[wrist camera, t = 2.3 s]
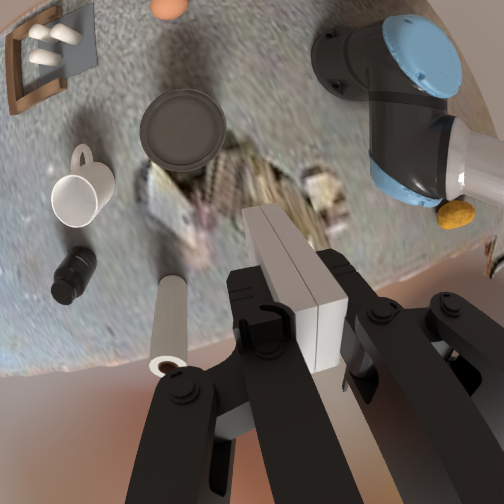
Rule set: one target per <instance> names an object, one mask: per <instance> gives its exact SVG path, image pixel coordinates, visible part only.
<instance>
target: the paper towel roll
mask: <svg viewBox="0 0 504 504" xmlns="http://www.w3.org/2000/svg"><path fill="white" fill-rule="evenodd" d="M183 366H188V349H187V284H186V282H185V281H184V280H183V279H182V278H181V277H179V276H176V275H169V276H166V277H164V278H163V279H162V280H161V281H160V283H159V287H158V293H157V300H156V307H155V314H154V322H153V330H152V338H151V348H150V358H149V367H150V370H151V371H152V372H153V373H154V374H156V375H157V376H159V377H161V378H162V377H163V376H164V375H165V374H166V373H167V372H169V371H171V370H173V369H175V368H178V367H183Z"/></svg>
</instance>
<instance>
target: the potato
mask: <svg viewBox="0 0 504 504" xmlns="http://www.w3.org/2000/svg"><path fill="white" fill-rule="evenodd" d="M474 216H475V209H474V208H473V206H472V205H471V204H469V203H467V202H464V201H458V200H452V201H449V202H448V203H446V204H445V205H443V206H442V207H441V208H440V209H439V211H438V213H437V222H438V224H439V225H440V227H441V228H443V229H453V228H457V227H460V226H463V225H465V224H467V223H469V222H471V221H472V220H473V218H474Z"/></svg>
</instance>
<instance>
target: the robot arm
mask: <svg viewBox="0 0 504 504" xmlns="http://www.w3.org/2000/svg"><path fill="white" fill-rule="evenodd" d="M311 61H312V66H313V70H314V72H315V75H316V77H317V78H318V80H319V82H320V83H321V84H322V85H323V87H324V88H325V89H326V90H328V91H329V92H330V93H331V94H333V95H335V96H336V97H338V98H341V99H344V100H348V101H364V100H368V99H369V125H370V149H369V153H368V154H369V158H370V174H371V178H372V180H373V181H374V183H375V185H376V186H377V187H378V188H379V189H380V190H382V191H383V192H384V193H386V194H387V195H389V196H391V197H393V198H395V199H397V200H400V201H402V202H405V203H408V204H411V205H416V206H417V205H418V204H419V205H421V206H423V207H434V206H437V205H438V204H439V203H440V202H441V201H442V199H446V200H449V201H452V200H453V199H455V198H457V197H458V196H460V195H462V194H465V195H468V196H471V197H474V198H477V199H480V200H482V201H485V202H488V203H490V204H493V205H496V206H498V207H501V208H503V209H504V141H502V140H499V139H496V138H493V137H490V136H486V135H483V134H479V133H475V132H472V131H470V130H469V129H468V128H467V126H466V125H465V124H464V122H463V121H462V120H461V118H459V117H456V116H451V115H448V113H447V111H446V110H447V98H449V97H451V96H453V95H455V94H456V93H457V92H458V90H459V88H458V86H461V82H462V68H461V63H460V60H459V57H458V54H457V52H456V49H455V47H454V46H453V44H452V42H451V41H450V39H449V38H448V37H447V36H446V34H445V33H444V32H443V30H442V29H441V28H440V27H438V26H437V25H436V24H435V23H433V22H432V21H430V20H429V19H427V18H425V17H423V16H420V15H415V14H406V15H399V16H396V15H394V16H390V17H388V18H387V19H383V20H380V21H377V22H374V23H371V24H368V25H366V26H363V27H360V28H358V27H351V26H339V27H334V28H332V29H329V30H327V31H325V32H324V33H322V34H321V35H320V36H319V37H318V38H317V39H316V41H315V43H314V45H313V48H312V53H311ZM242 215H243V222H244V228H245V234H246V241H247V247H248V253H249V259H250V264H251V267H248V268H243V269H238V270H234V271H231V272H230V274H229V276H228V278H227V281H226V283H227V288H228V293H229V299H230V304H231V310H232V315H233V332H234V336H235V339H236V347H235V349H234V351H233V352H232V354H231V355H230V356H229V357H228V358H227V359H226V360H225V361H223V362H221V363H220V364H218V365H216V366H214V367H212V368H210V369H208V370H206V371H203V370H202V369H201V368H198V367H193V366H183V367H178V368H175V369H173V370H171V371H169V372H167V373H166V374H165V375H164V376H163V377H162V378H161V379H160V381H159V383H158V384H157V387H156V389H155V392H154V396H153V399H152V402H151V405H150V409H149V412H148V415H147V419H146V422H145V426H144V429H143V433H142V437H141V440H140V444H139V448H138V451H137V455H136V459H135V463H134V467H133V471H132V475H131V479H130V483H129V487H128V491H127V496H126V500H125V504H230V495H231V485H232V475H233V464H234V454H235V442H236V437H238V436H240V435H242V434H244V433H246V432H248V431H250V430H251V429H253V428H255V427H256V431H257V435H258V440H259V444H260V448H261V452H262V456H263V460H264V464H265V468H266V472H267V476H268V479H269V483H270V487H271V491H272V494H273V498H274V502H275V504H364V503H363V500H362V498H361V495H360V493H359V490H358V488H357V485H356V483H355V481H354V478H353V475H352V473H351V471H350V468H349V466H348V463H347V461H346V458H345V456H344V454H343V451H342V449H341V446H340V444H339V441H338V439H337V436H336V434H335V431H334V429H333V427H332V424H331V422H330V419H329V417H328V414H327V412H326V410H325V407H324V405H323V402H322V400H321V398H320V395H319V393H318V391H317V388H316V386H315V383H314V381H313V378H312V376H311V373H314V371H315V372H318V371H321V370H324V369H328V368H331V367H334V366H337V365H339V360H340V354H341V356H342V357H343V359H344V361H345V363H346V365H347V367H346V371H345V375H344V380H343V385H342V389H343V392H345V391H347V387H348V384H349V386H350V388H351V390H352V392H353V394H354V396H355V398H356V400H357V402H358V404H359V406H360V409H361V410H362V413H363V415H364V417H365V419H366V421H367V423H368V425H369V427H370V430H371V432H372V434H373V436H374V438H375V440H376V442H377V445H378V447H379V449H380V451H381V453H382V456H383V458H384V460H385V462H386V464H387V467H388V469H389V471H390V473H391V476H392V478H393V480H394V482H395V485H396V487H397V489H398V492H399V493H400V496H401V498H402V501H403V503H404V504H504V328H503V327H502V326H500V325H499V324H498V323H496V322H495V321H494V320H492V319H491V318H490V317H489V316H487V315H486V314H485V313H483V312H482V311H480V310H479V309H478V308H476V307H475V306H474V305H472V304H471V303H469V302H468V301H467V300H465V299H464V298H462V297H460V296H459V295H457V294H455V293H450V292H440V293H438V294H436V295H434V296H433V297H432V299H431V300H430V303H429V307H426V308H415V309H404V308H403V307H402V306H401V305H400V304H398V303H397V302H396V301H394V300H392V299H389V298H386V297H378V296H377V294H376V293H375V292H374V291H373V289H372V288H371V287H370V286H369V285H368V283H367V282H366V281H365V280H364V279H363V278H362V276H361V275H360V274H359V273H358V272H356V269H355V268H354V267H353V266H352V265H350V262H349V261H348V260H347V259H346V258H345V257H344V255H343V254H341V253H339V252H337V251H335V250H333V249H326V250H322V251H317V252H315V251H314V250H313V248H312V247H311V246H310V244H309V243H308V242H307V240H306V239H305V238H304V237H303V235H302V234H301V233H300V231H299V230H298V229H297V227H296V226H295V225H294V224H293V222H292V221H291V220H290V218H289V217H288V216H287V215H286V213H285V212H284V211H283V210H282V208H281V207H280V206H279V204H278V203H271V204H266V205H260V207H259V206H255V207H250V208H244V209H242ZM453 350H455V351H457V352H458V353H459V356H457V357H452V356H451V354H452V352H453Z"/></svg>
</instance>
